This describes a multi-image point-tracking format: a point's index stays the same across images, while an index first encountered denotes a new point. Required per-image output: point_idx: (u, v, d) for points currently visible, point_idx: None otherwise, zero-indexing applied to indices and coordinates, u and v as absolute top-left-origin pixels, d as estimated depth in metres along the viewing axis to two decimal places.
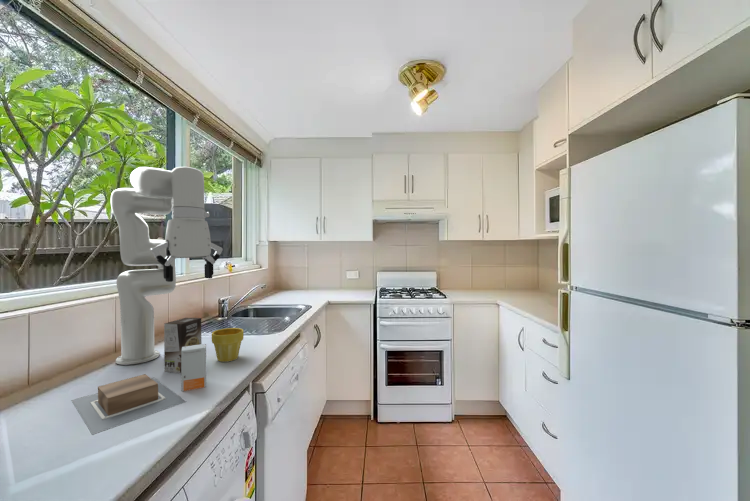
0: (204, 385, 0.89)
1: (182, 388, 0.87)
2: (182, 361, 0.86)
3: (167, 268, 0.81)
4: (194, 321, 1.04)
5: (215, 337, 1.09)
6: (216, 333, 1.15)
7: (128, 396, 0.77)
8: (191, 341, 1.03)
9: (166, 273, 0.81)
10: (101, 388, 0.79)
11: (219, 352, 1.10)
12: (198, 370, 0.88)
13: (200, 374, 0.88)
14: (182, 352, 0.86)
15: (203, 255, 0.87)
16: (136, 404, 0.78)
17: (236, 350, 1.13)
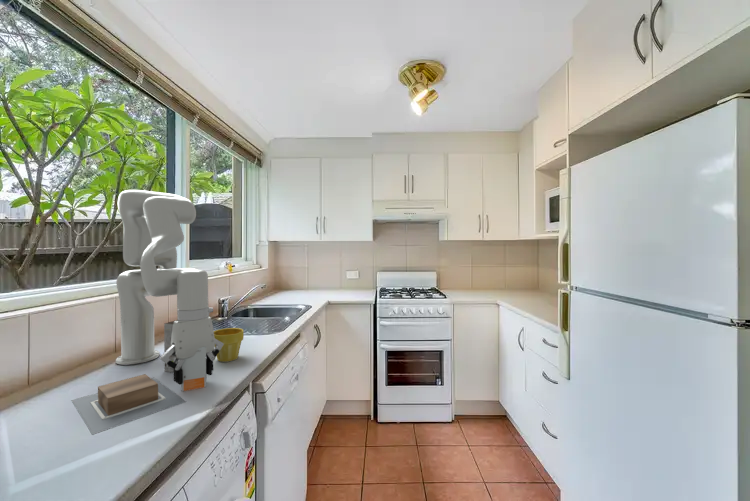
0: (204, 385, 0.89)
1: (182, 388, 0.87)
2: None
3: (177, 372, 0.86)
4: None
5: (215, 337, 1.09)
6: (216, 333, 1.15)
7: (128, 396, 0.77)
8: None
9: (176, 376, 0.85)
10: (101, 388, 0.79)
11: (219, 352, 1.10)
12: (198, 370, 0.88)
13: (200, 374, 0.88)
14: None
15: (207, 352, 0.90)
16: (136, 404, 0.78)
17: (236, 350, 1.13)
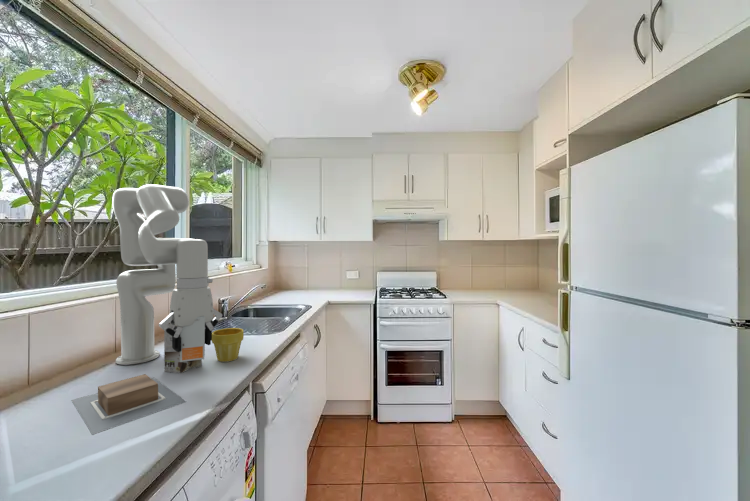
0: (202, 354, 0.89)
1: (181, 356, 0.87)
2: None
3: (176, 339, 0.86)
4: None
5: (215, 337, 1.09)
6: (216, 333, 1.15)
7: (128, 396, 0.77)
8: None
9: (175, 344, 0.86)
10: (101, 388, 0.79)
11: (219, 352, 1.10)
12: (197, 338, 0.88)
13: (199, 343, 0.89)
14: None
15: (206, 321, 0.90)
16: (136, 404, 0.78)
17: (236, 350, 1.13)
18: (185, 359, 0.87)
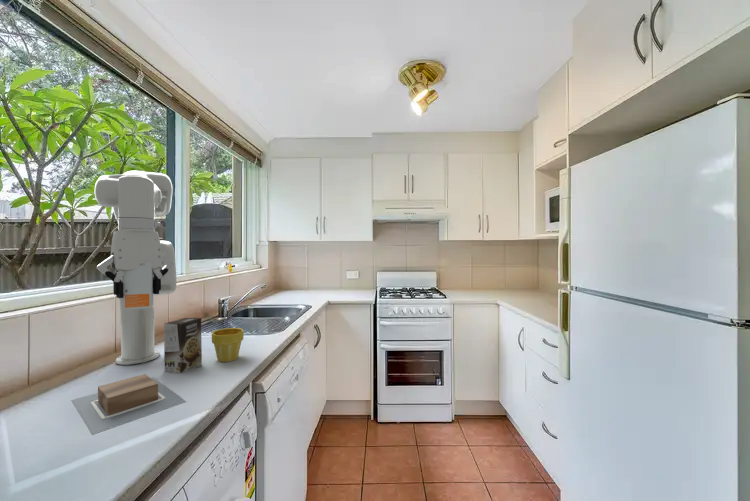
0: (149, 302, 0.82)
1: (123, 303, 0.79)
2: None
3: (117, 284, 0.78)
4: (194, 321, 1.04)
5: (215, 337, 1.09)
6: (216, 333, 1.15)
7: (128, 396, 0.77)
8: (191, 341, 1.03)
9: (116, 289, 0.78)
10: (101, 388, 0.79)
11: (219, 352, 1.10)
12: (142, 285, 0.81)
13: (144, 290, 0.81)
14: None
15: (153, 267, 0.83)
16: (136, 404, 0.78)
17: (236, 350, 1.13)
18: (129, 307, 0.80)
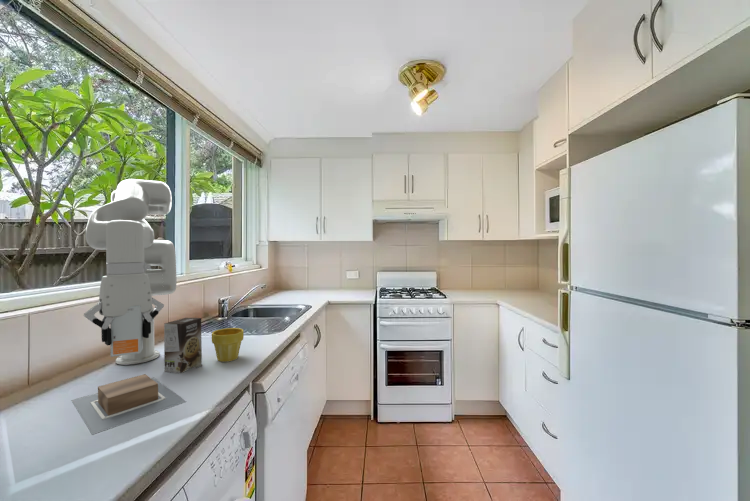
0: (138, 347, 0.80)
1: (111, 350, 0.78)
2: None
3: (105, 331, 0.77)
4: (194, 321, 1.04)
5: (215, 337, 1.09)
6: (216, 333, 1.15)
7: (128, 396, 0.77)
8: (191, 341, 1.03)
9: (104, 336, 0.77)
10: (101, 388, 0.79)
11: (219, 352, 1.10)
12: (130, 330, 0.80)
13: (133, 335, 0.80)
14: None
15: (142, 311, 0.82)
16: (136, 404, 0.78)
17: (236, 350, 1.13)
18: (117, 353, 0.78)
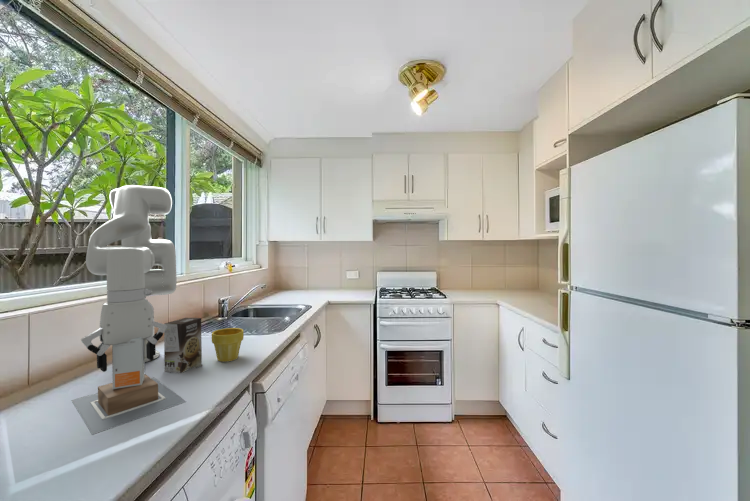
0: (140, 379, 0.81)
1: (113, 382, 0.78)
2: (113, 353, 0.78)
3: (100, 357, 0.76)
4: (194, 321, 1.04)
5: (215, 337, 1.09)
6: (216, 333, 1.15)
7: (128, 396, 0.77)
8: (191, 341, 1.03)
9: (99, 363, 0.76)
10: (101, 388, 0.79)
11: (219, 352, 1.10)
12: (132, 362, 0.80)
13: (135, 368, 0.80)
14: None
15: (142, 337, 0.82)
16: (136, 404, 0.78)
17: (236, 350, 1.13)
18: (119, 386, 0.79)
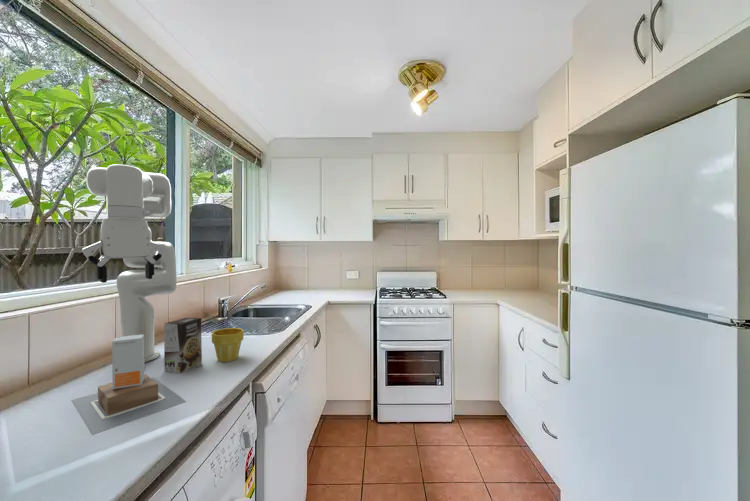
0: (140, 379, 0.81)
1: (113, 382, 0.78)
2: (113, 353, 0.78)
3: (100, 269, 0.79)
4: (194, 321, 1.04)
5: (215, 337, 1.09)
6: (216, 333, 1.15)
7: (128, 396, 0.77)
8: (191, 341, 1.03)
9: (99, 274, 0.79)
10: (101, 388, 0.79)
11: (219, 352, 1.10)
12: (132, 362, 0.80)
13: (135, 368, 0.80)
14: (113, 343, 0.78)
15: (141, 255, 0.85)
16: (136, 404, 0.78)
17: (236, 350, 1.13)
18: (119, 386, 0.79)
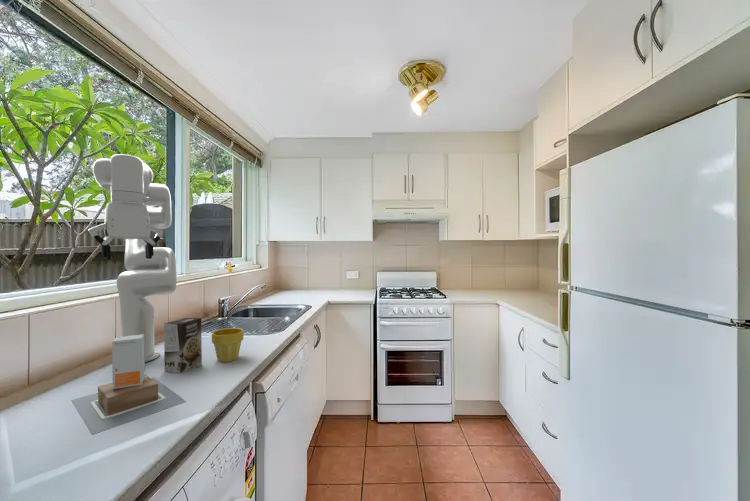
0: (140, 379, 0.81)
1: (113, 382, 0.78)
2: (113, 353, 0.78)
3: (105, 247, 0.88)
4: (194, 321, 1.04)
5: (215, 337, 1.10)
6: (216, 333, 1.15)
7: (128, 396, 0.77)
8: (191, 341, 1.03)
9: (104, 252, 0.88)
10: (101, 388, 0.79)
11: (219, 352, 1.10)
12: (132, 362, 0.80)
13: (135, 368, 0.80)
14: (113, 343, 0.78)
15: (142, 236, 0.93)
16: (136, 404, 0.78)
17: (236, 350, 1.13)
18: (119, 386, 0.79)
